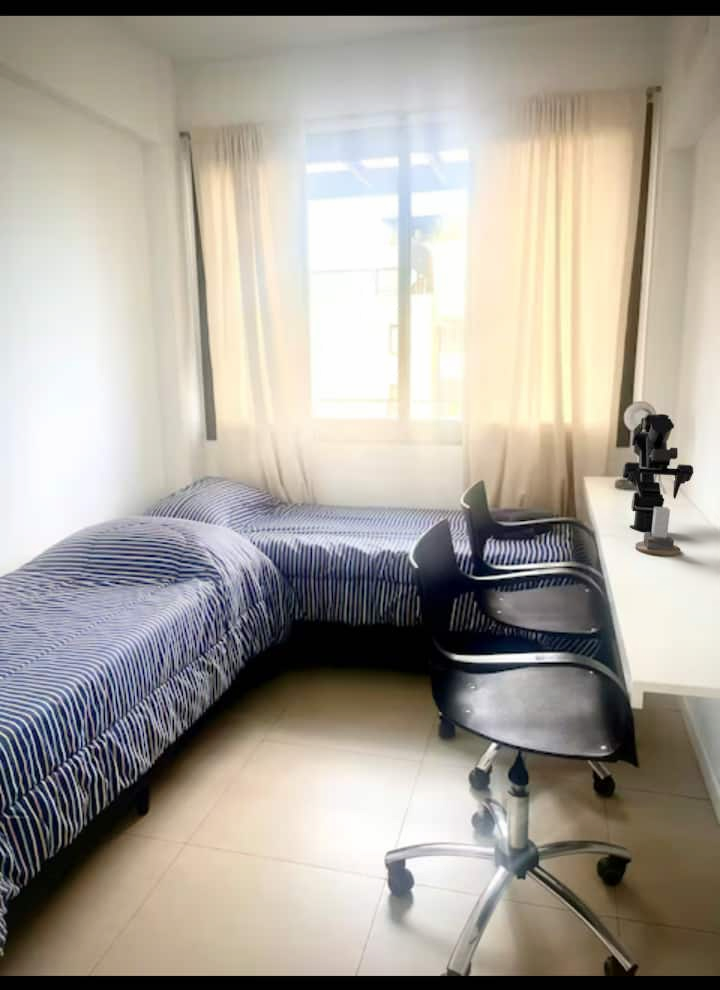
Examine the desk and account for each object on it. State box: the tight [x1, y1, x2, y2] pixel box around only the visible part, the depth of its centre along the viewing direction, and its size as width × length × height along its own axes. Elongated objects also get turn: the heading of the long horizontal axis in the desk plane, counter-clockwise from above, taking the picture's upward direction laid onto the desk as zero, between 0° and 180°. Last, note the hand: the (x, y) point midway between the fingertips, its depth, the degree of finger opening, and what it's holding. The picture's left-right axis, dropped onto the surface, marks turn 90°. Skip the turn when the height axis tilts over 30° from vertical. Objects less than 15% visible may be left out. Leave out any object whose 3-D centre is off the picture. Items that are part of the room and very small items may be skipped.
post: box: [650, 506, 671, 539], centre depth 199 cm, size 4×4×11 cm
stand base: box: [635, 532, 681, 557], centre depth 200 cm, size 12×12×4 cm
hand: (657, 497), depth 201 cm, fingers open, 9 cm apart
